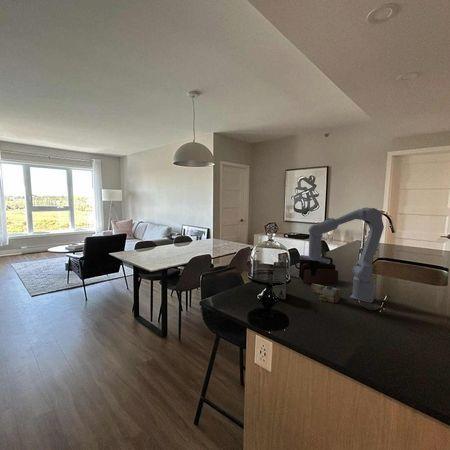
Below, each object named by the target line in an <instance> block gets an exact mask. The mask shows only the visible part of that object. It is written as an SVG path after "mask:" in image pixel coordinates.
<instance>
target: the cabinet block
mask: <svg viewBox="0 0 450 450" xmlns="http://www.w3.org/2000/svg"><path fill="white" fill-rule="evenodd" d="M336 289H337V288H335V287H333V286H332V285H331V286H329V285H327V287H325V288H323V291H322V294H321V295H322V296H326V297H331V298H334V296H335V295H336Z"/></svg>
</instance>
